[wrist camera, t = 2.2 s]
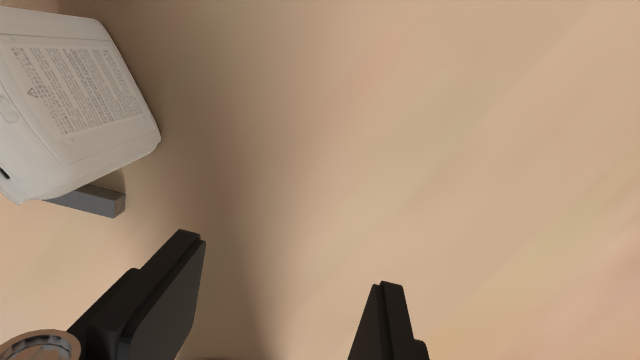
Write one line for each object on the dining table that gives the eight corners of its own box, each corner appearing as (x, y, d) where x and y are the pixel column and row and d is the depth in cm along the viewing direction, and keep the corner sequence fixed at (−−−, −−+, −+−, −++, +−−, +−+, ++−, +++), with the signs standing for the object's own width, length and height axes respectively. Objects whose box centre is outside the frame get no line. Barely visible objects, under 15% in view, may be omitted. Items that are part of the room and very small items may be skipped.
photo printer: (51, 34, 28) (-163, 22, 16) (101, 8, 27) (-88, -24, 16) (125, 163, 31) (-13, 233, 19) (172, 143, 30) (57, 203, 18)
